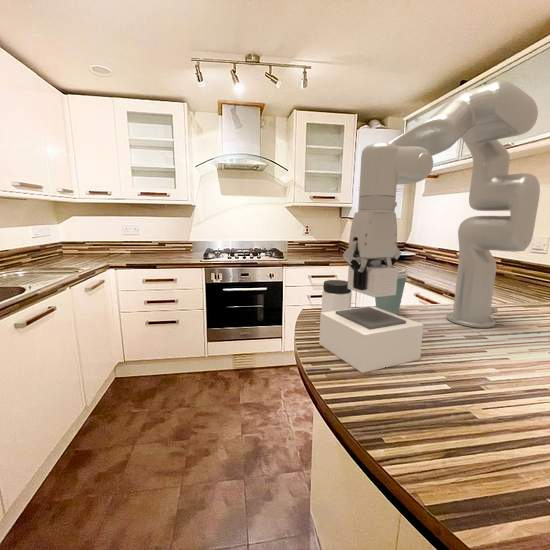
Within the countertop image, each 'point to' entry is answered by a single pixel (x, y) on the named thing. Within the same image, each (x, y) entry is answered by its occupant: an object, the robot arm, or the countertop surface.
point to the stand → (370, 337)
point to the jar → (336, 296)
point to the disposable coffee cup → (393, 301)
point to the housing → (376, 279)
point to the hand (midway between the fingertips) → (370, 287)
